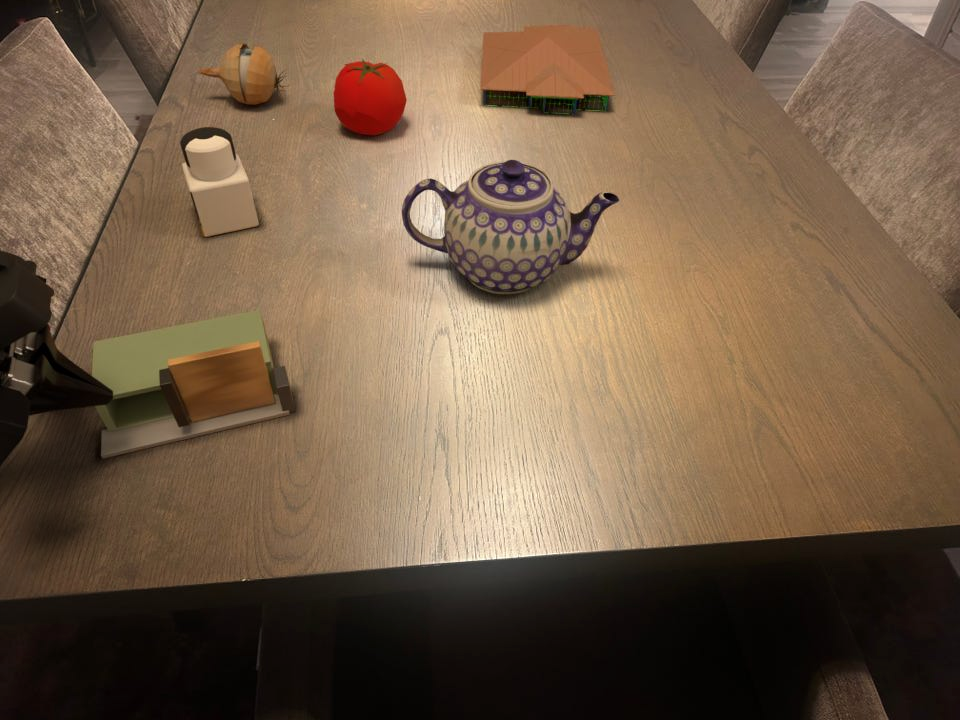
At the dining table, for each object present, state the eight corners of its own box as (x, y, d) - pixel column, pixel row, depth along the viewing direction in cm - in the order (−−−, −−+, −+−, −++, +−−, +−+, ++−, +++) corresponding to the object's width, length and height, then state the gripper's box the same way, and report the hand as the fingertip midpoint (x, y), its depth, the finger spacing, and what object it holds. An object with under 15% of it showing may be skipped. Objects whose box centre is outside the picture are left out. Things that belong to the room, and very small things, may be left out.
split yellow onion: (288, 64, 106) (189, 35, 103) (281, 122, 112) (187, 96, 109) (299, 51, 114) (208, 24, 111) (292, 105, 119) (205, 81, 116)
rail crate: (102, 458, 63) (81, 424, 59) (105, 378, 70) (86, 342, 66) (296, 413, 67) (287, 378, 64) (280, 341, 74) (271, 307, 71)
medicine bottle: (195, 210, 91) (169, 126, 83) (248, 199, 94) (229, 117, 85) (204, 238, 87) (178, 153, 78) (259, 226, 89) (240, 142, 81)
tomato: (322, 122, 110) (313, 58, 103) (381, 105, 116) (377, 43, 108) (360, 152, 104) (354, 87, 97) (421, 132, 109) (420, 69, 102)
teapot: (395, 301, 80) (387, 190, 69) (414, 227, 91) (409, 121, 80) (607, 317, 79) (632, 208, 68) (600, 241, 90) (621, 136, 79)
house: (479, 114, 114) (481, 66, 109) (483, 41, 138) (484, -2, 132) (613, 121, 115) (622, 73, 109) (594, 46, 138) (601, 3, 132)
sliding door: (181, 434, 64) (156, 377, 58) (180, 419, 65) (155, 361, 60) (277, 412, 67) (262, 355, 61) (274, 397, 68) (259, 340, 62)
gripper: (-85, 345, 40) (165, 419, 51) (-36, 185, 52) (158, 273, 63) (-160, 456, 44) (89, 504, 54) (-97, 282, 56) (96, 349, 67)
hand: (110, 398), depth 60 cm, fingers closed
